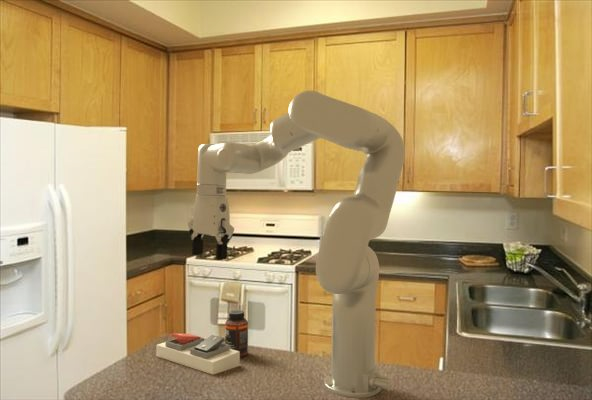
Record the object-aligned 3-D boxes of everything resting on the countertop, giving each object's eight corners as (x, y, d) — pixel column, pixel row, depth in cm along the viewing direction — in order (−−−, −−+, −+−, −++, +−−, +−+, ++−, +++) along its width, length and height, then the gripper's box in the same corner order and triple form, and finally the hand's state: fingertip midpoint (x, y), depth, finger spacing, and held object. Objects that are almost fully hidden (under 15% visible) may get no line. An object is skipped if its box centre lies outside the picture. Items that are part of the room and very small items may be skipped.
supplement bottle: (251, 351, 123) (251, 309, 123) (242, 359, 118) (243, 315, 117) (230, 349, 125) (231, 308, 125) (221, 357, 119) (221, 313, 119)
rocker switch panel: (239, 367, 112) (239, 346, 112) (212, 379, 105) (212, 357, 105) (183, 350, 124) (184, 331, 123) (156, 360, 116) (156, 340, 116)
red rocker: (198, 345, 118) (200, 336, 118) (180, 344, 113) (182, 335, 113) (187, 342, 120) (189, 333, 120) (169, 341, 115) (171, 332, 116)
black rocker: (225, 345, 113) (223, 337, 112) (208, 358, 108) (206, 350, 108) (213, 342, 115) (212, 334, 115) (196, 355, 110) (194, 346, 110)
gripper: (244, 193, 118) (242, 259, 118) (201, 190, 129) (199, 251, 129) (222, 192, 112) (219, 262, 112) (179, 190, 123) (177, 253, 123)
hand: (209, 256), depth 121 cm, fingers open, 9 cm apart
